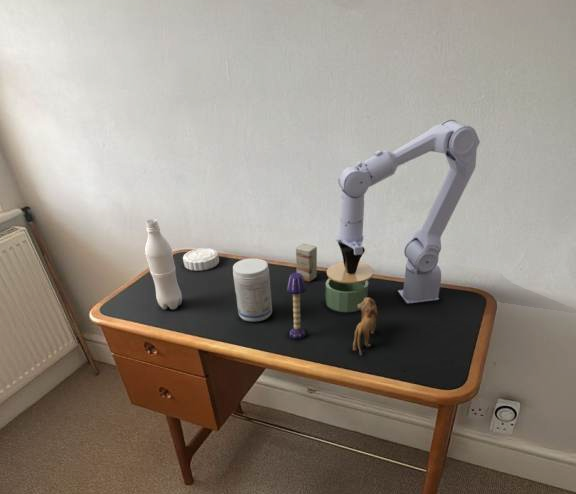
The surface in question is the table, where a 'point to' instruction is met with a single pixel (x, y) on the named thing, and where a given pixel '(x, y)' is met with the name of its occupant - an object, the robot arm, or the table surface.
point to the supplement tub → (252, 289)
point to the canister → (345, 295)
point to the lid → (341, 275)
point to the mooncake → (201, 259)
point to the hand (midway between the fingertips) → (350, 270)
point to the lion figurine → (366, 322)
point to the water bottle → (162, 267)
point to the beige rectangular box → (307, 261)
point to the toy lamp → (296, 303)
